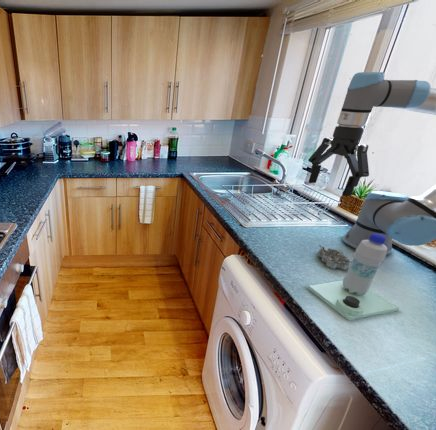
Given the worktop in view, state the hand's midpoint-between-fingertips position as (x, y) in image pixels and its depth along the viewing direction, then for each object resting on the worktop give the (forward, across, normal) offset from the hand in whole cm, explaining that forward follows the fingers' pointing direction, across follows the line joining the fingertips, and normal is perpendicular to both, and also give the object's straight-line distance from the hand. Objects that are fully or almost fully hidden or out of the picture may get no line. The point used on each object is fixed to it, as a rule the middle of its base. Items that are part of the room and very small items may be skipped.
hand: (328, 188), depth 100 cm
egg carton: (+27, +7, +5) cm, 28 cm away
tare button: (+24, +29, -14) cm, 40 cm away
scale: (+27, +25, -8) cm, 37 cm away
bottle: (+26, +23, -5) cm, 35 cm away
